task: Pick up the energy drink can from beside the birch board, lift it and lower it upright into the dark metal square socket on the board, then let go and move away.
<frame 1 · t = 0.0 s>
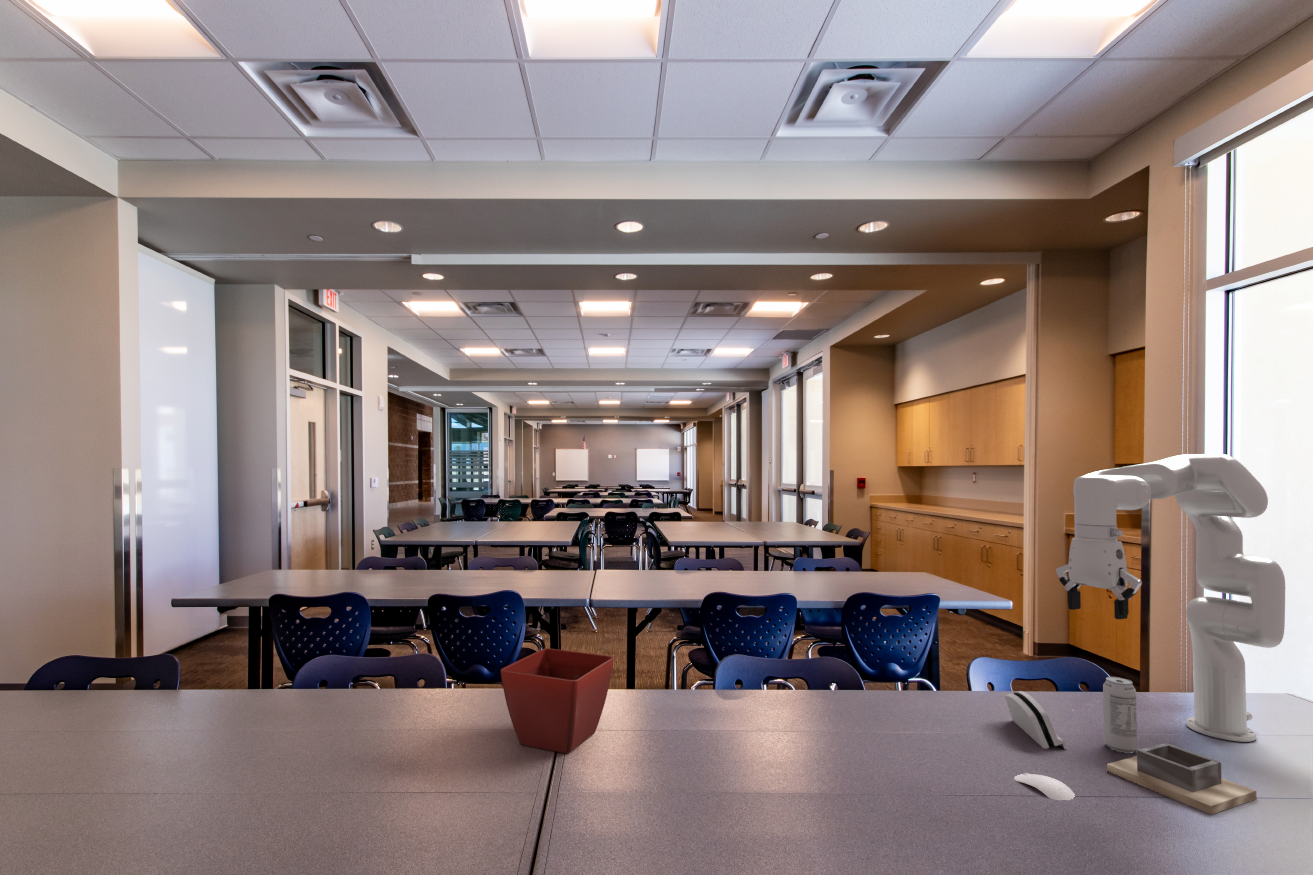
hand: (1097, 613, 138), 31 cm above the table, tool pointing down, fingers open, 9 cm apart
socket board: (1178, 784, 127), on the table
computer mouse: (1041, 789, 126), on the table
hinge: (1032, 735, 151), on the table
plant pot: (557, 739, 144), on the table
energy drink can: (1120, 749, 144), on the table
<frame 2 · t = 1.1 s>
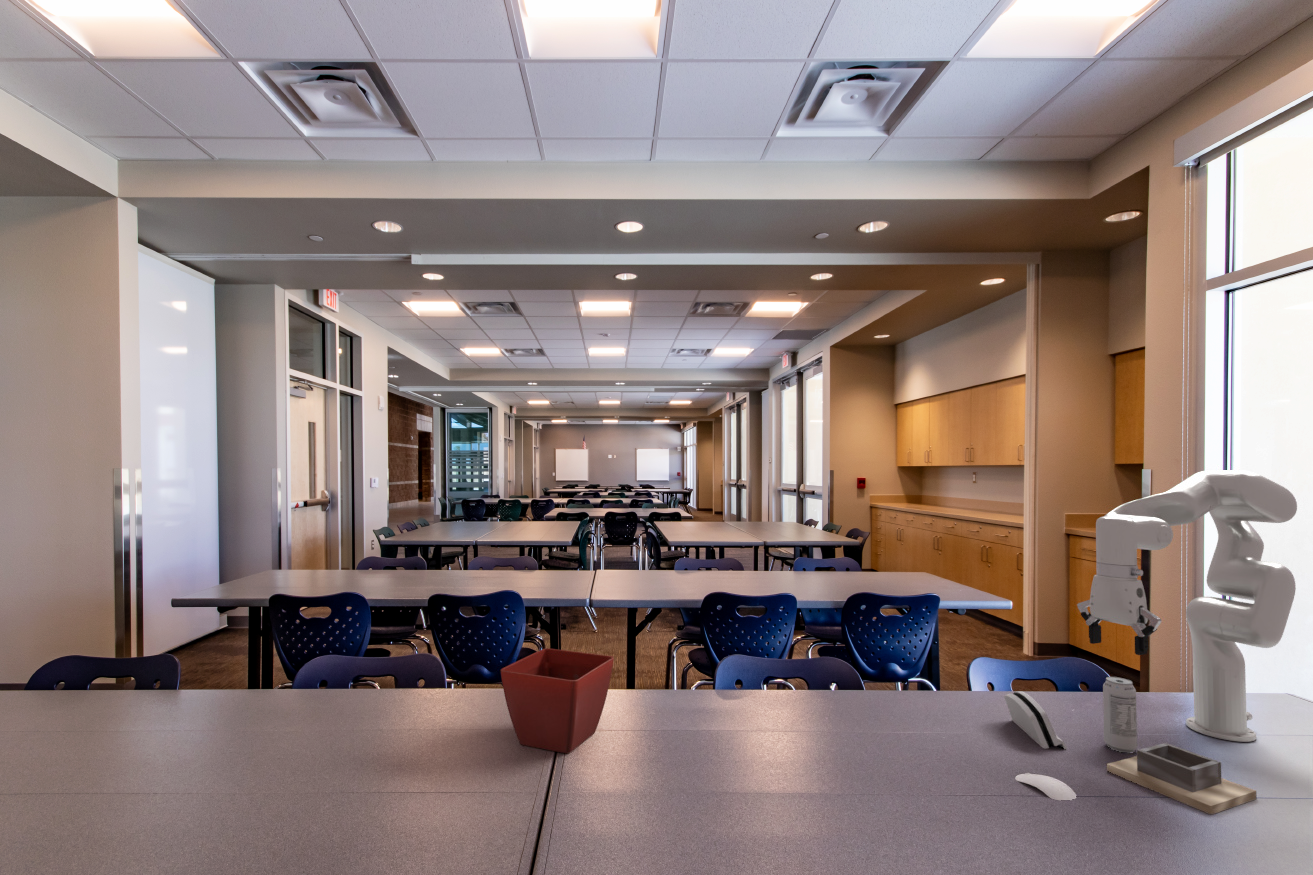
hand: (1117, 648, 145), 22 cm above the table, tool pointing down, fingers open, 9 cm apart
nothing on the table moved.
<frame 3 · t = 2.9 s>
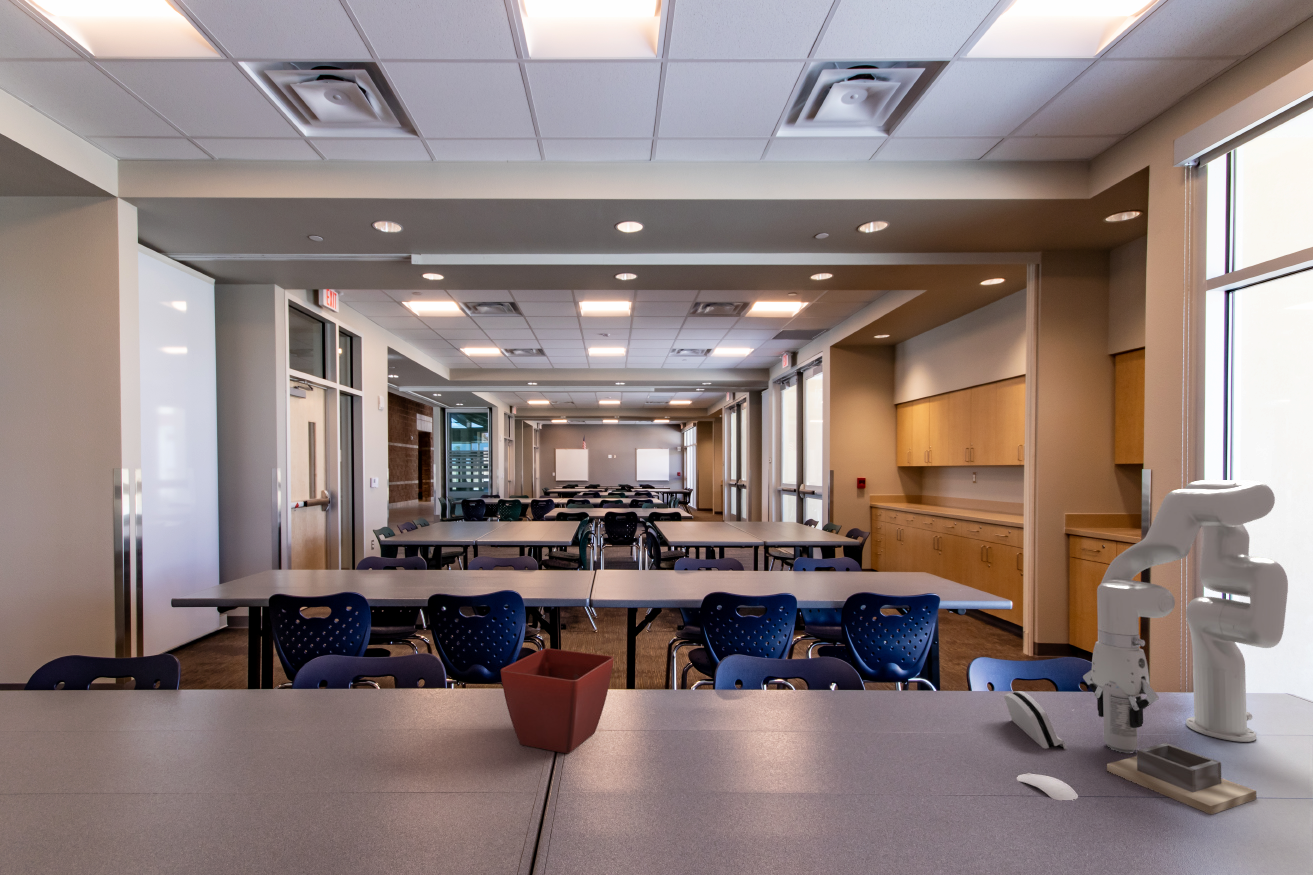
hand: (1119, 720, 144), 6 cm above the table, tool pointing down, fingers closed on energy drink can, 6 cm apart
energy drink can: (1120, 749, 144), on the table, touching gripper
everything else where it was.
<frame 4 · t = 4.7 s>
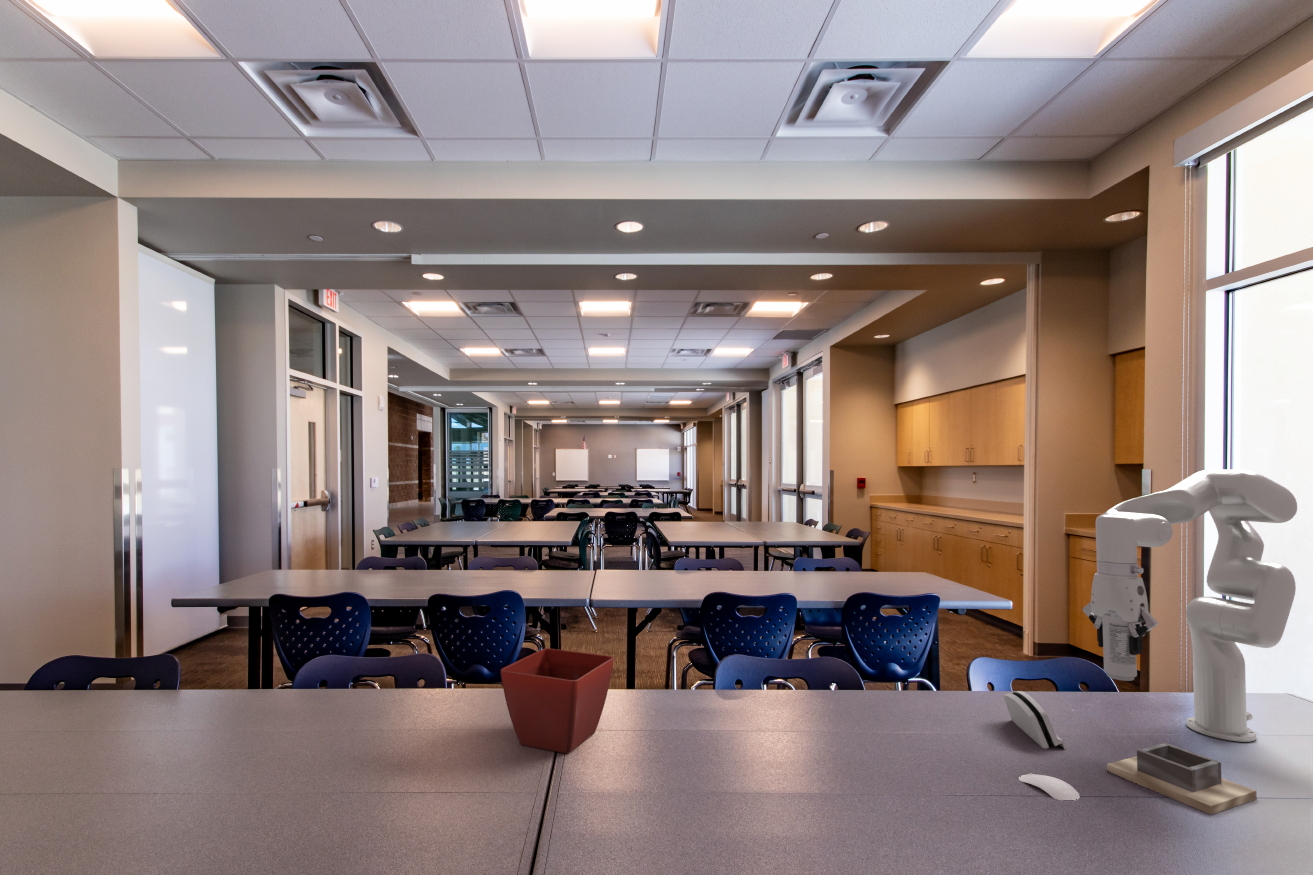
hand: (1119, 649, 145), 22 cm above the table, tool pointing down, fingers closed on energy drink can, 6 cm apart
energy drink can: (1120, 677, 145), point 15 cm above the table, touching gripper
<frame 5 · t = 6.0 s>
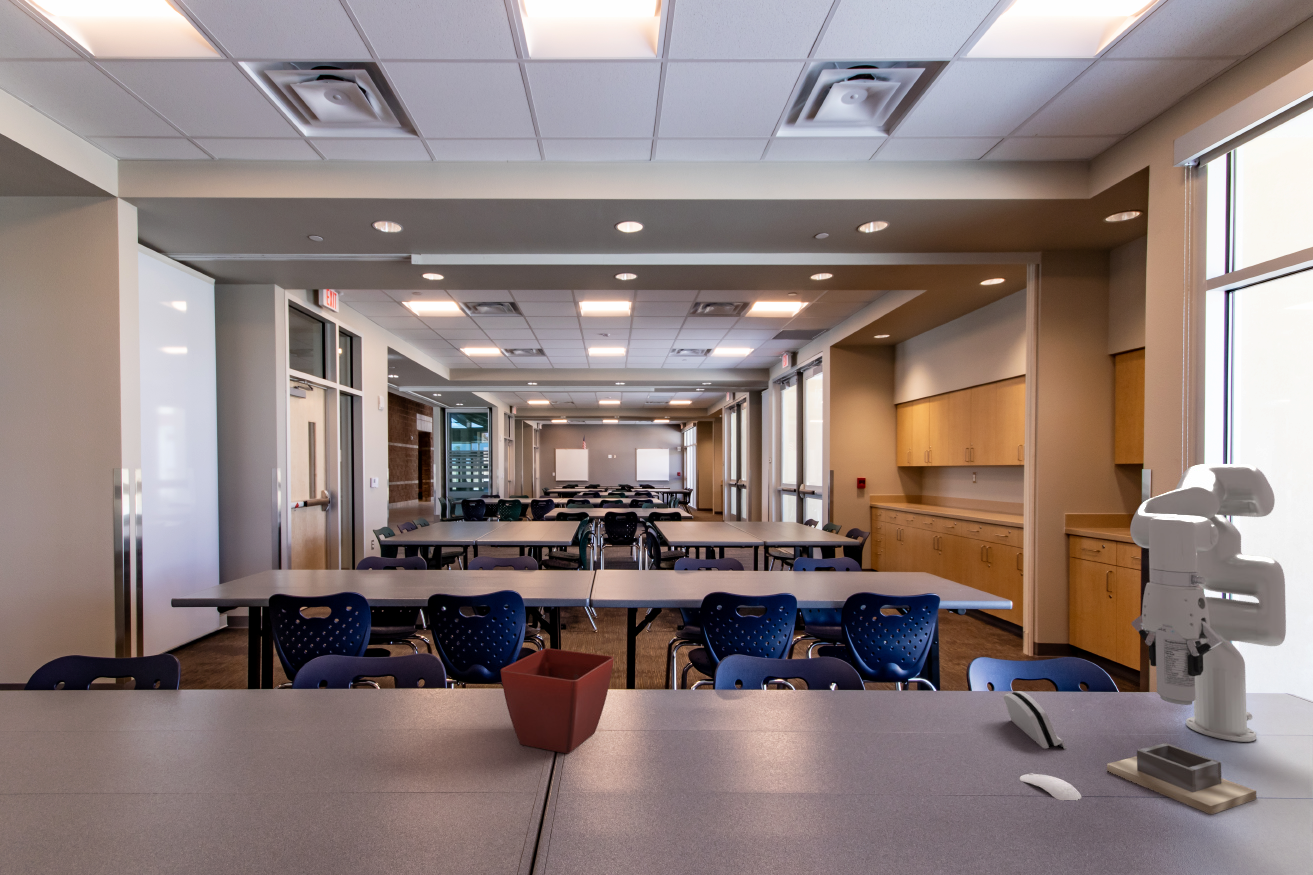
hand: (1175, 669, 129), 22 cm above the table, tool pointing down, fingers closed on energy drink can, 6 cm apart
energy drink can: (1176, 701, 128), point 16 cm above the table, touching gripper
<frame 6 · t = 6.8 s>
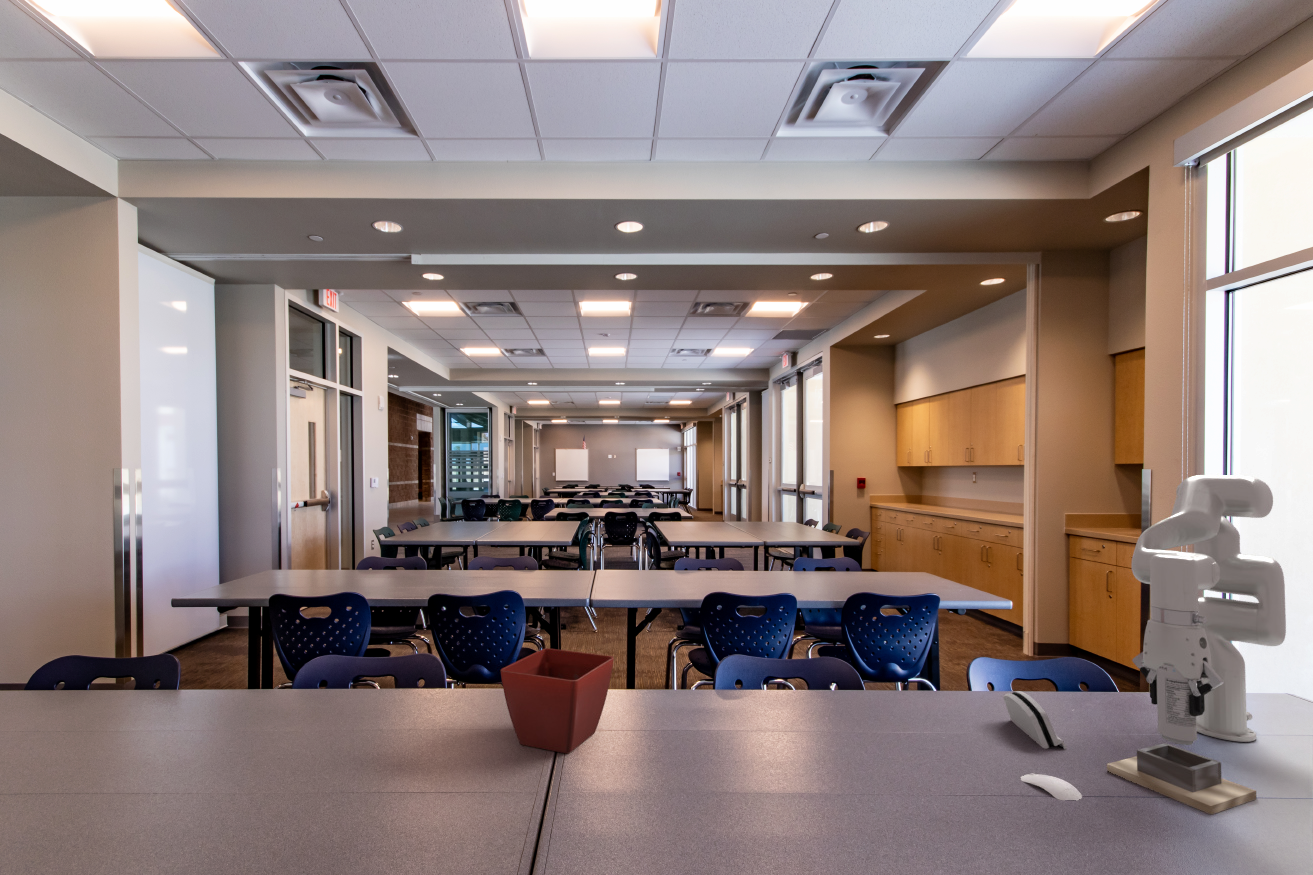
hand: (1176, 708, 128), 15 cm above the table, tool pointing down, fingers closed on energy drink can, 6 cm apart
energy drink can: (1177, 740, 128), point 9 cm above the table, touching gripper
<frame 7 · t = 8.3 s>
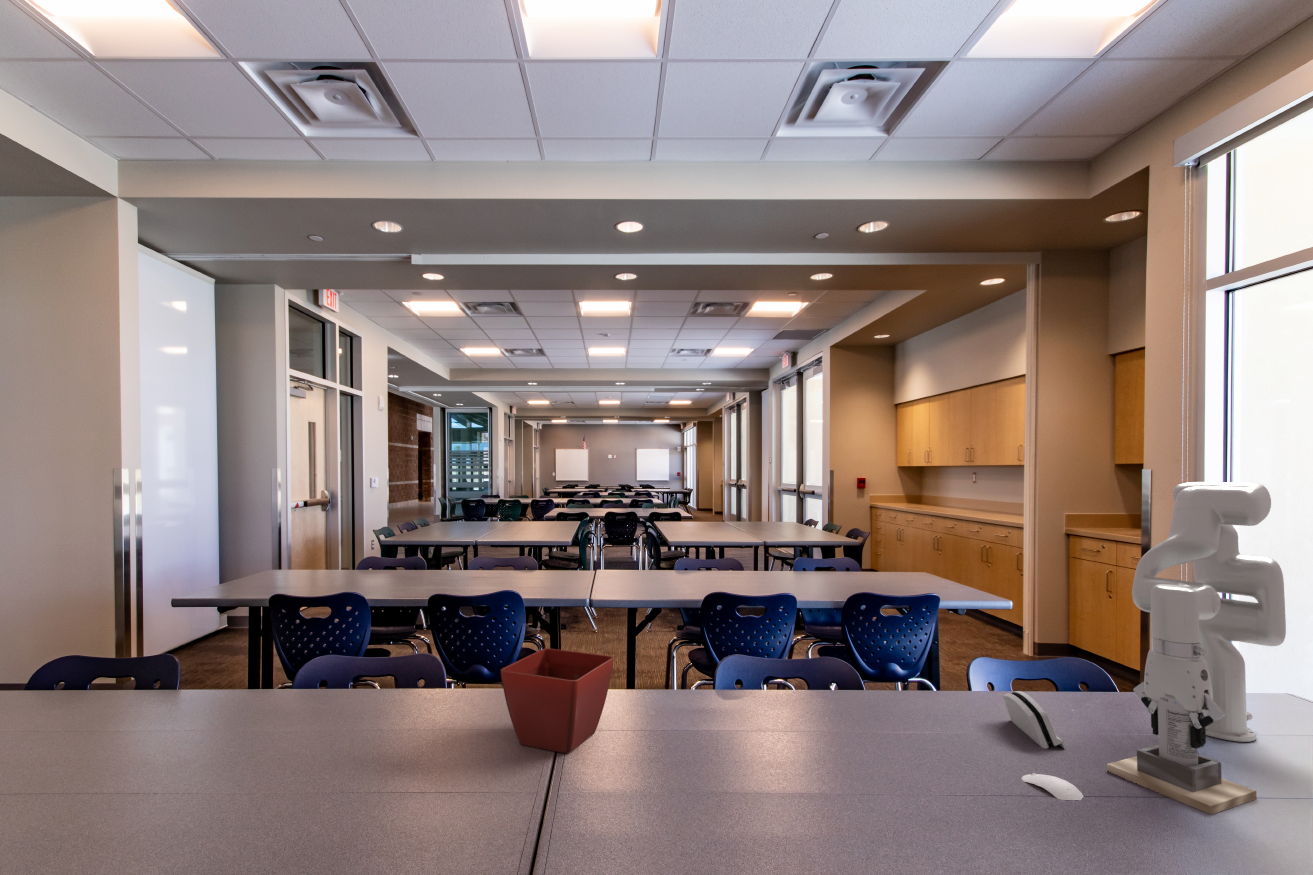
hand: (1177, 739, 128), 9 cm above the table, tool pointing down, fingers closed on energy drink can, 6 cm apart
energy drink can: (1178, 771, 128), point 2 cm above the table, touching gripper
when the fingers open (9 cm above the table, at t = 8.4 s): energy drink can drops 1 cm, resting on socket board.
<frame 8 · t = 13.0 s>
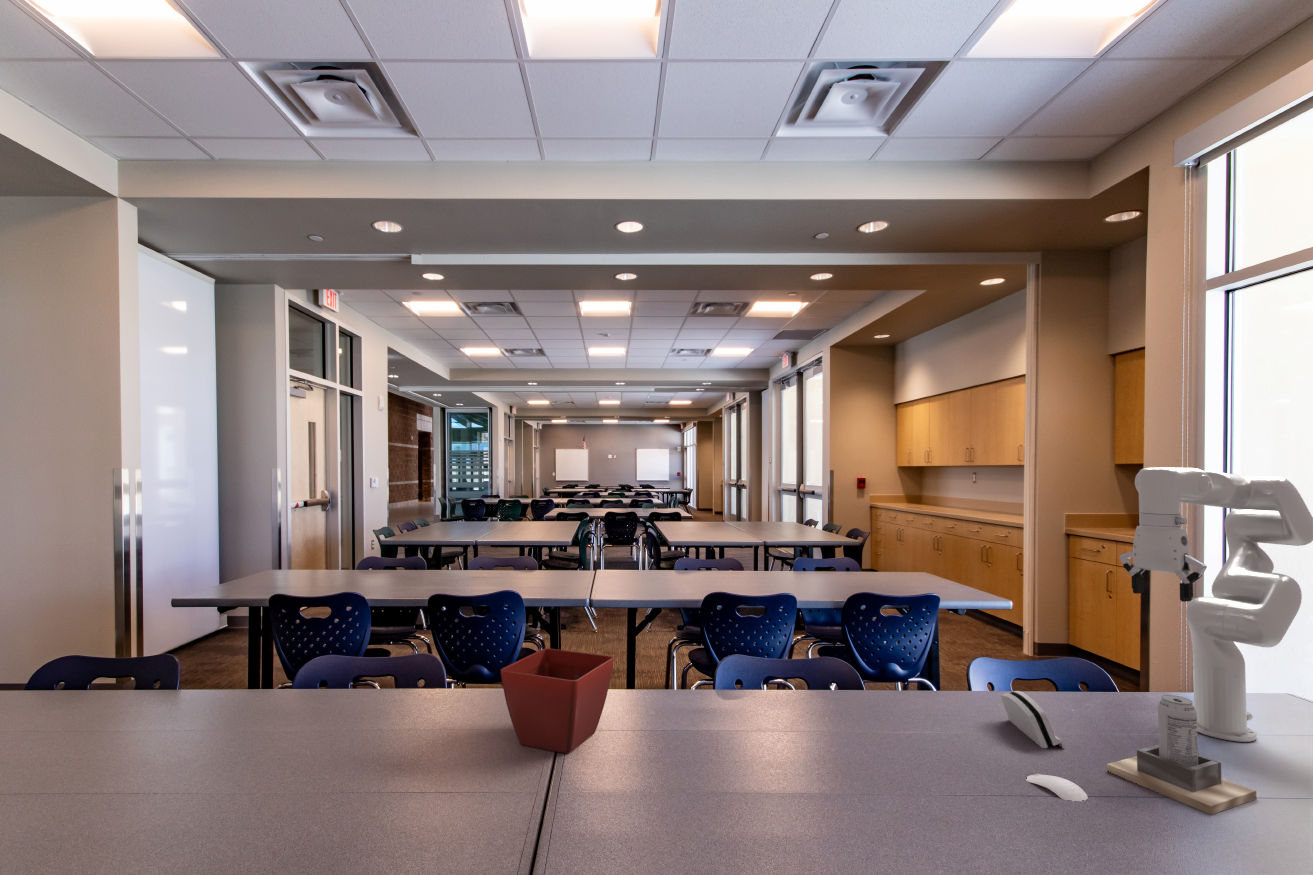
hand: (1161, 596, 147), 33 cm above the table, tool pointing down, fingers open, 9 cm apart
energy drink can: (1178, 777, 127), point 1 cm above the table, touching socket board
at the end: energy drink can 0.1 cm off-centre on the socket board, point 1.3 cm above the socket board's base; energy drink can tilted 0°; the gripper is holding nothing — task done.
